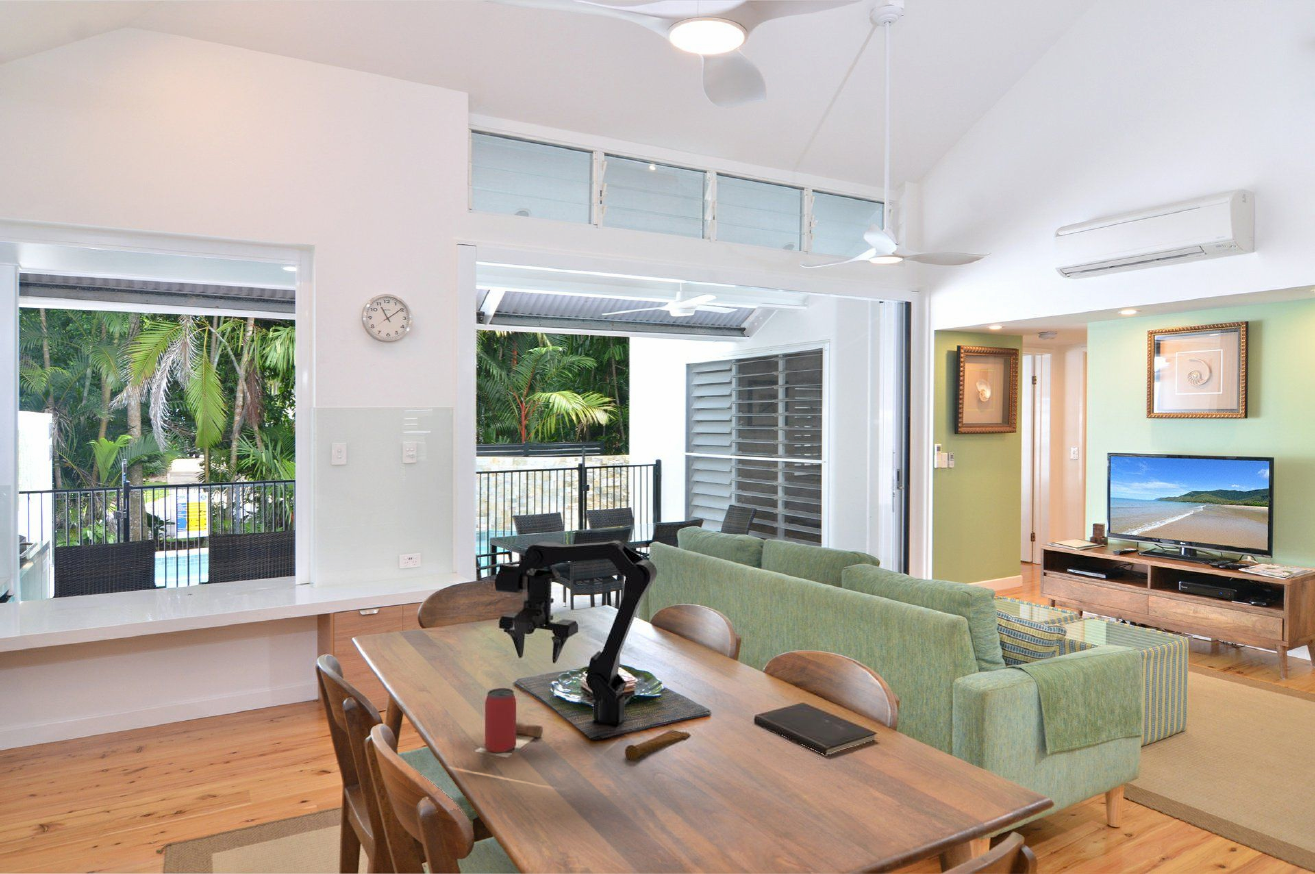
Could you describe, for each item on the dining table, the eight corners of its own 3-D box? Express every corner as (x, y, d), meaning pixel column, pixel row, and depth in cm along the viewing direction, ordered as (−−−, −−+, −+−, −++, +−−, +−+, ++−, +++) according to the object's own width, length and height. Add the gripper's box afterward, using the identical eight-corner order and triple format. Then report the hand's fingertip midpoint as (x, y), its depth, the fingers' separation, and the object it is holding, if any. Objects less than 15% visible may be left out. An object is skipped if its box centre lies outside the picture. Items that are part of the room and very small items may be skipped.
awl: (542, 735, 183) (542, 724, 183) (537, 739, 180) (537, 728, 180) (496, 727, 187) (496, 716, 187) (490, 731, 185) (490, 720, 185)
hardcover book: (803, 711, 201) (803, 702, 201) (876, 742, 182) (876, 732, 182) (753, 724, 192) (753, 715, 192) (825, 759, 173) (825, 748, 173)
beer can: (493, 756, 171) (493, 699, 171) (479, 746, 176) (479, 691, 176) (521, 749, 175) (521, 693, 175) (507, 739, 180) (507, 685, 180)
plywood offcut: (542, 733, 185) (542, 731, 185) (507, 759, 171) (507, 757, 171) (512, 728, 188) (512, 726, 188) (474, 753, 174) (474, 751, 174)
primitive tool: (672, 731, 187) (672, 716, 187) (692, 737, 184) (693, 721, 184) (622, 761, 172) (622, 744, 171) (643, 767, 168) (644, 750, 168)
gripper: (486, 597, 191) (485, 664, 192) (557, 607, 184) (556, 675, 185) (511, 588, 201) (510, 651, 202) (580, 597, 195) (578, 662, 195)
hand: (537, 660), depth 196 cm, fingers open, 9 cm apart
